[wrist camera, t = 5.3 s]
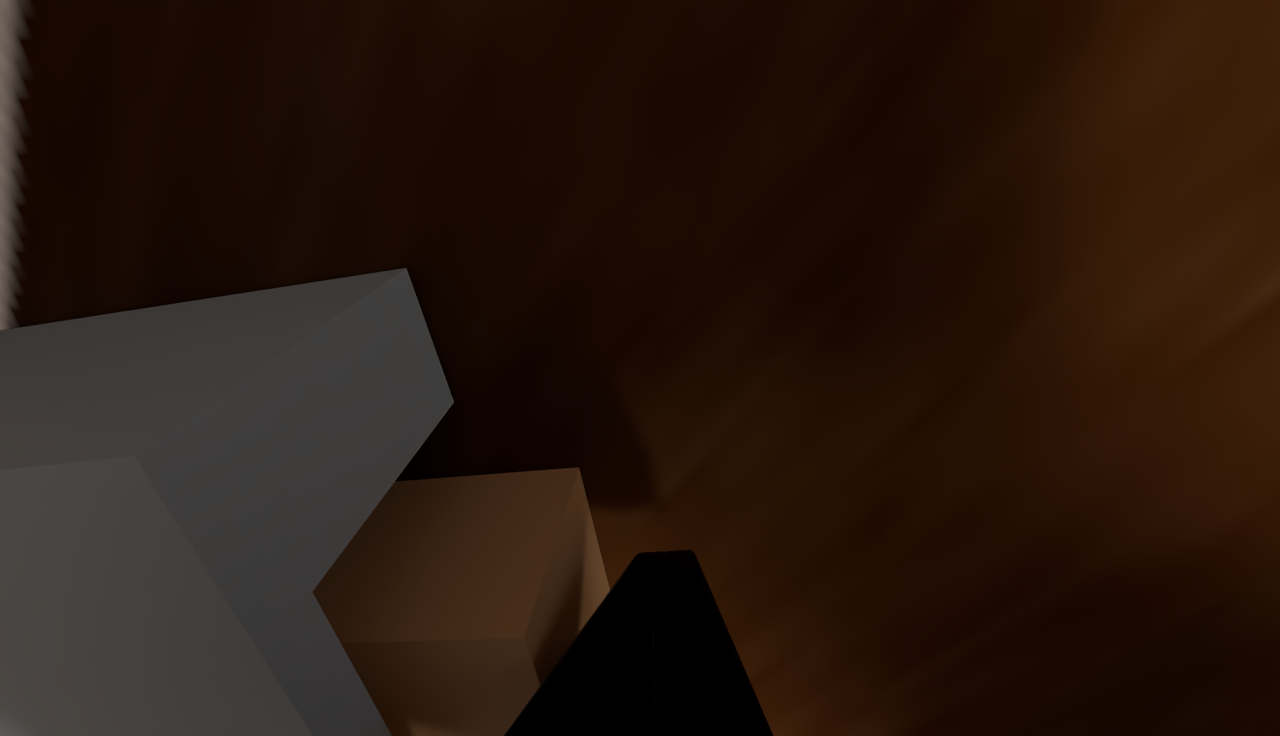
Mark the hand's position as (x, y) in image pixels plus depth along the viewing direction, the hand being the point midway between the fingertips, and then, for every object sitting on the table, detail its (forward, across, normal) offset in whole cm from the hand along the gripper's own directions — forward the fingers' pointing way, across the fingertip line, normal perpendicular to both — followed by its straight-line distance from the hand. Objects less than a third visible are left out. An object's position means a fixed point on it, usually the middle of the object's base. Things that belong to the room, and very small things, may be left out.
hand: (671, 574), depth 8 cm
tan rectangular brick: (+1, +4, 0) cm, 4 cm away
